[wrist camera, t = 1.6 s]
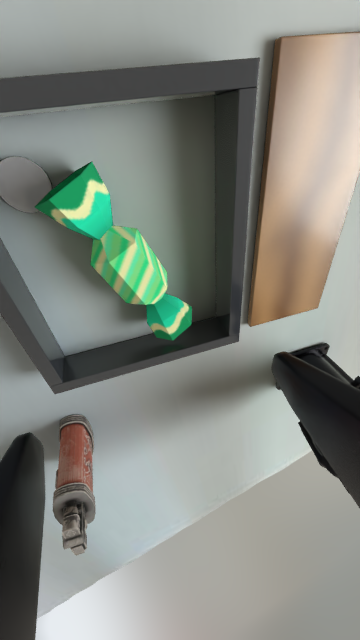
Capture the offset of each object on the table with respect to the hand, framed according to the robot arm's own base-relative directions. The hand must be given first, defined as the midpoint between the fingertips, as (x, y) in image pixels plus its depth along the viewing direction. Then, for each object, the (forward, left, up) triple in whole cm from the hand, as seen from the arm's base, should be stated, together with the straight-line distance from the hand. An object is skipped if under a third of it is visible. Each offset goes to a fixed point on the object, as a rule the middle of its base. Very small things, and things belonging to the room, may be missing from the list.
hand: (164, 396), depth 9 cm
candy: (0, 0, -12) cm, 12 cm away
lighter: (+10, +19, -12) cm, 25 cm away
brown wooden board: (-15, -1, -12) cm, 19 cm away
